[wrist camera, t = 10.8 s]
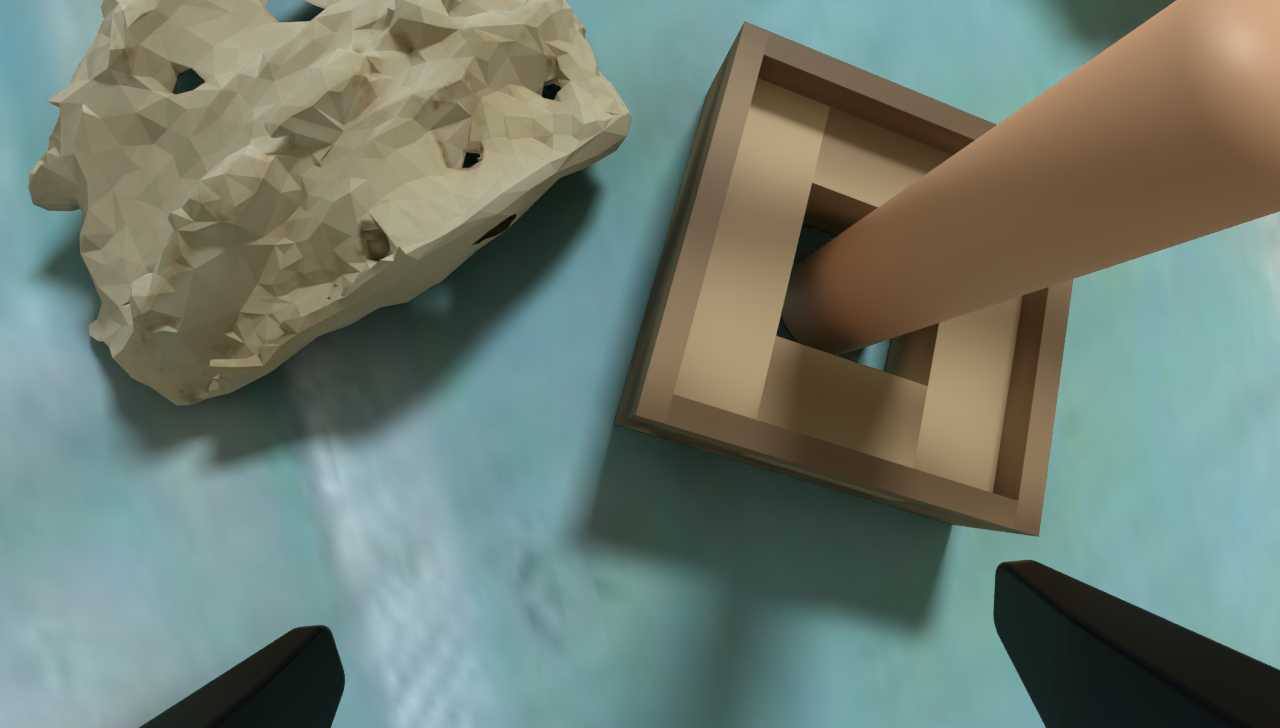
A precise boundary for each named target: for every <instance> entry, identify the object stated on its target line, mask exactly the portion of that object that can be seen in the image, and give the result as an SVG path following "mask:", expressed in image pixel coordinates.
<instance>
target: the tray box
mask: <svg viewBox="0 0 1280 728" xmlns="http://www.w3.org/2000/svg"><path fill="white" fill-rule="evenodd" d="M995 126H996V124H994V123H991V122H989V121H986V120H984V119H981V118H979V117H976V116H974V115H972V114H969V113H967V112H964V111H962V110H959V109H957V108H955V107H952V106H950V105H947V104H945V103H942V102H940V101H938V100H935V99H933V98H930V97H928V96H925V95H923V94H921V93H918V92H916V91H913V90H911V89H908V88H906V87H904V86H901V85H899V84H896V83H894V82H891V81H889V80H887V79H884V78H882V77H879V76H877V75H874V74H872V73H869V72H867V71H865V70H862V69H860V68H857V67H855V66H852V65H850V64H848V63H845V62H843V61H840V60H838V59H835V58H833V57H831V56H828V55H826V54H823V53H821V52H818V51H816V50H814V49H811V48H809V47H806V46H804V45H801V44H799V43H797V42H794V41H792V40H789V39H787V38H784V37H782V36H780V35H777V34H775V33H772V32H770V31H767V30H765V29H762V28H760V27H758V26H755V25H753V24H750V23H748V22H744V24H743V26H742V28H741V29H740V31H739V33H738V35H737V37H736V39H735V41H734V43H733V45H732V46H731V48H730V50H729V52H728V54H727V56H726V58H725V60H724V62H723V63H722V65H721V67H720V69H719V71H718V73H717V75H716V77H715V79H714V81H713V82H712V84H711V86H710V88H709V90H708V93H707V97H706V100H705V104H704V107H703V111H702V114H701V118H700V121H699V125H698V128H697V132H696V135H695V139H694V142H693V146H692V149H691V153H690V156H689V160H688V164H687V167H686V171H685V174H684V178H683V181H682V185H681V188H680V192H679V195H678V199H677V202H676V206H675V209H674V213H673V216H672V220H671V223H670V227H669V230H668V234H667V237H666V241H665V245H664V248H663V252H662V255H661V259H660V262H659V266H658V269H657V273H656V276H655V280H654V283H653V287H652V290H651V294H650V297H649V301H648V304H647V308H646V311H645V315H644V318H643V322H642V325H641V329H640V333H639V336H638V340H637V343H636V347H635V350H634V354H633V357H632V361H631V364H630V368H629V371H628V375H627V378H626V382H625V385H624V389H623V392H622V396H621V399H620V403H619V406H618V410H617V414H616V417H615V421H614V424H617V425H620V426H623V427H627V428H630V429H633V430H637V431H640V432H643V433H647V434H650V435H654V436H657V437H660V438H664V439H667V440H670V441H674V442H677V443H680V444H684V445H687V446H690V447H694V448H697V449H700V450H704V451H707V452H711V453H714V454H717V455H721V456H724V457H727V458H731V459H734V460H737V461H741V462H744V463H747V464H751V465H754V466H758V467H761V468H764V469H768V470H771V471H774V472H778V473H781V474H784V475H788V476H791V477H794V478H798V479H801V480H805V481H808V482H811V483H815V484H818V485H821V486H825V487H828V488H831V489H835V490H838V491H841V492H845V493H848V494H852V495H855V496H858V497H862V498H865V499H868V500H872V501H875V502H878V503H882V504H885V505H888V506H892V507H895V508H899V509H902V510H905V511H909V512H912V513H915V514H919V515H922V516H925V517H929V518H932V519H935V520H939V521H942V522H946V523H949V524H952V525H958V526H965V527H973V528H980V529H987V530H994V531H1002V532H1009V533H1016V534H1024V535H1031V536H1038V537H1039V530H1040V523H1041V515H1042V508H1043V500H1044V493H1045V485H1046V478H1047V470H1048V463H1049V456H1050V448H1051V441H1052V433H1053V426H1054V418H1055V411H1056V403H1057V396H1058V388H1059V381H1060V373H1061V366H1062V359H1063V351H1064V344H1065V336H1066V329H1067V321H1068V314H1069V306H1070V299H1071V291H1072V284H1073V279H1071V280H1068V281H1065V282H1062V283H1059V284H1056V285H1053V286H1050V287H1047V288H1044V289H1041V290H1038V291H1035V292H1032V293H1029V294H1026V295H1023V296H1019V297H1016V298H1013V299H1010V300H1007V301H1004V302H1001V303H998V304H995V305H992V306H989V307H986V308H983V309H980V310H977V311H974V312H971V313H968V314H965V315H962V316H959V317H955V318H952V319H949V320H946V321H943V322H940V323H937V324H934V325H931V326H928V327H925V328H922V329H919V330H916V331H913V332H910V333H907V334H904V335H901V336H898V337H894V338H891V343H890V348H889V353H888V358H887V363H886V369H885V372H883V371H880V370H877V369H874V368H871V367H868V366H865V365H862V364H859V363H856V362H853V361H850V360H847V359H844V358H841V357H838V356H835V355H832V354H829V353H826V352H823V351H820V350H817V349H814V348H811V347H808V346H805V345H802V344H799V343H796V342H793V341H790V340H787V339H784V338H781V337H778V336H776V334H777V329H778V325H779V321H780V317H781V312H782V308H783V304H784V300H785V295H786V291H787V287H788V283H789V278H790V274H791V270H792V266H793V261H794V257H795V253H796V249H797V244H798V240H799V236H800V232H801V228H802V223H804V224H806V225H809V226H812V227H815V228H817V229H820V230H823V231H826V232H828V233H831V234H834V235H836V236H838V235H839V234H841V233H842V232H844V231H845V230H847V229H848V228H850V227H851V226H852V225H854V224H855V223H857V222H858V221H860V220H861V219H862V218H864V217H865V216H867V215H868V214H870V213H871V212H873V211H874V210H875V209H877V208H878V207H880V206H881V205H883V204H884V203H885V202H887V201H888V200H890V199H891V198H893V197H894V196H896V195H897V194H898V193H900V192H901V191H903V190H904V189H906V188H907V187H908V186H910V185H911V184H913V183H914V182H916V181H917V180H919V179H920V178H921V177H923V176H924V175H926V174H927V173H929V172H930V171H932V170H933V169H934V168H936V167H937V166H939V165H940V164H942V163H943V162H944V161H946V160H947V159H949V158H950V157H952V156H953V155H955V154H956V153H957V152H959V151H960V150H962V149H963V148H965V147H966V146H967V145H969V144H970V143H972V142H973V141H975V140H976V139H978V138H979V137H980V136H982V135H983V134H985V133H986V132H988V131H989V130H991V129H992V128H993V127H995Z"/></svg>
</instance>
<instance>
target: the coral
mask: <svg viewBox="0 0 1280 728" xmlns="http://www.w3.org/2000/svg"><path fill="white" fill-rule="evenodd" d="M305 1H307V2H309V3H311V4H313V5H315V6H318V7H321V8H324V9H325V10H323V11H322V12H321V13H320V14H318V15H317V16H316V17H315V18H313V19H312V20H311V21H302V22H278V21H277V20H276V19H275V18H274V17H273V16H272V15H271V14H270V13H269V12H268V11H267V10H266V9H265V8H266V5H267V2H268V0H104V1H103V3H102V6H101V9H102V13H103V17H104V20H103V22H102V25H101V27H100V29H99V31H98V34H97V36H96V38H95V40H94V42H93V44H92V45H91V47H90V49H89V50H88V51H87V52H86V54H85V55H84V57H83V59H82V60H81V62H80V64H79V65H78V67H77V69H76V71H75V73H74V75H73V77H72V81H71V84H70V85H69V86H67V87H66V88H64V89H63V90H62V91H60V92H59V93H57V94H56V95H55V96H53V97H52V98H50V99H49V100H48V102H50V103H52V104H54V105H56V106H58V107H60V116H59V119H58V121H57V124H56V126H55V128H54V131H53V132H52V134H51V135H50V137H49V148H48V151H47V152H46V153H45V154H44V155H43V156H42V158H41V159H40V160H39V161H38V163H37V164H36V165H35V167H34V168H33V169H32V171H31V172H30V176H29V187H28V188H29V191H30V195H31V198H32V202H33V204H34V205H36V206H39V207H41V208H43V209H46V210H48V211H74V210H77V209H80V208H81V210H82V213H83V215H84V217H85V220H84V223H83V226H82V229H81V232H80V235H79V236H80V254H81V256H82V258H83V260H84V262H85V264H86V266H87V269H88V271H89V273H90V275H91V277H92V280H93V282H94V285H95V288H96V290H97V293H98V295H99V297H100V299H101V302H102V305H101V308H100V311H99V315H98V318H97V320H95V321H94V322H92V323H91V324H89V335H91V336H92V337H93V338H95V339H96V340H97V341H103V342H104V343H105V344H106V345H107V346H108V347H109V348H110V352H111V355H112V358H113V359H114V360H115V361H116V362H117V363H118V364H119V365H120V366H121V367H122V368H123V369H124V370H125V371H126V372H127V373H128V374H129V376H130V377H131V378H132V379H135V380H137V381H139V382H141V383H143V384H145V385H147V386H149V387H151V388H152V389H154V390H155V391H157V392H158V393H160V394H161V395H162V396H164V397H165V398H167V399H168V400H169V401H171V402H172V403H174V404H175V405H176V406H180V405H193V404H195V403H198V402H200V401H203V400H205V399H208V398H212V397H216V396H220V395H224V394H228V393H231V392H233V391H235V390H237V389H239V388H241V387H243V386H245V385H247V384H249V383H251V382H253V381H255V380H257V379H259V378H261V377H262V376H264V375H266V374H268V373H270V372H272V371H273V370H274V369H276V368H277V367H278V366H280V365H281V364H282V363H284V362H285V361H286V360H288V359H289V358H290V357H292V356H293V355H294V354H296V353H297V352H298V351H300V350H301V349H302V348H304V347H305V346H306V345H308V344H309V343H310V342H312V341H313V340H314V339H316V338H317V337H318V336H321V335H324V334H327V333H329V332H332V331H335V330H338V329H341V328H343V327H346V326H349V325H351V324H353V323H354V322H356V321H358V320H359V319H361V318H363V317H364V316H366V315H368V314H369V313H371V312H373V311H374V310H376V309H378V308H380V307H385V306H391V305H396V304H401V303H406V302H409V301H411V300H412V299H414V298H415V297H417V296H418V295H420V294H421V293H423V292H424V291H426V290H427V289H429V288H430V287H432V286H434V285H436V284H438V283H440V282H442V281H443V280H444V279H445V278H446V277H447V276H448V275H450V274H451V273H452V272H453V271H454V270H455V269H456V268H457V267H459V266H460V265H461V264H462V263H463V262H464V261H465V260H467V259H468V258H469V257H470V256H471V255H472V254H473V253H475V252H476V251H477V250H478V249H480V248H481V247H483V246H484V245H485V244H487V243H488V242H490V241H491V240H493V239H494V238H496V237H497V236H498V235H500V234H501V233H503V232H504V231H506V230H507V229H508V228H509V227H510V226H511V225H512V224H513V223H514V222H515V221H516V220H518V219H519V218H520V217H521V216H522V215H523V214H524V213H525V212H526V211H527V210H528V209H529V208H530V207H531V206H532V205H533V204H534V203H535V202H536V201H537V200H538V199H539V198H540V197H541V196H542V195H543V194H544V193H545V192H546V191H547V190H548V189H549V188H550V187H551V186H552V185H553V184H554V183H555V182H556V181H557V180H558V179H559V178H561V177H564V176H566V175H569V174H572V173H574V172H576V171H580V170H584V169H585V168H587V167H589V166H590V165H592V164H593V163H595V162H597V161H599V160H600V159H602V158H604V157H606V156H607V155H609V154H611V153H613V152H614V151H616V150H617V149H618V147H619V146H620V145H621V143H622V142H623V141H624V139H625V138H626V136H627V134H628V130H629V127H630V123H631V120H632V116H631V114H630V113H629V111H628V109H627V107H626V106H625V104H624V102H623V101H622V99H621V97H620V96H619V94H618V93H617V91H616V90H615V88H614V87H613V85H612V84H611V82H609V81H607V80H606V79H605V78H604V76H603V75H602V74H601V73H600V71H599V70H598V67H597V64H596V60H595V57H594V54H593V51H592V49H591V46H590V44H589V43H588V42H587V41H586V40H585V33H586V29H585V27H584V26H583V25H582V23H581V22H580V20H579V19H578V18H577V17H576V16H575V15H574V14H573V13H572V8H571V7H570V6H569V5H568V4H567V3H566V2H565V0H305ZM191 68H192V69H193V70H194V71H195V72H196V73H197V74H198V75H199V76H200V77H201V78H202V79H203V80H204V81H205V83H203V84H202V85H200V86H199V87H197V88H196V89H194V90H192V91H188V92H184V93H180V94H175V89H176V84H177V79H178V77H179V76H180V75H181V74H182V73H183V72H184V71H186V70H189V69H191ZM551 84H556V85H558V86H560V87H561V90H560V91H559V92H558V93H557V95H556V97H555V99H554V100H550V99H546V98H543V97H542V91H543V86H547V85H551ZM468 152H469V153H478V154H480V158H477V159H478V161H479V162H478V163H477V164H475V165H473V166H472V167H470V168H462V167H463V163H464V158H465V156H466V154H467V153H468Z"/></svg>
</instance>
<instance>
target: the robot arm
mask: <svg viewBox="0 0 1280 728" xmlns="http://www.w3.org/2000/svg"><path fill="white" fill-rule="evenodd" d="M994 623H995V627H996V630H997V633H998V635H999V637H1000V639H1001V641H1002V643H1003V645H1004V647H1005V649H1006V651H1007V653H1008V655H1009V657H1010V659H1011V661H1012V663H1013V665H1014V667H1015V669H1016V670H1017V672H1018V674H1019V676H1020V678H1021V680H1022V682H1023V684H1024V686H1025V688H1026V690H1027V692H1028V694H1029V696H1030V698H1031V700H1032V702H1033V704H1034V706H1035V707H1036V709H1037V711H1038V713H1039V715H1040V717H1041V719H1042V721H1043V723H1044V725H1045V727H1046V728H1280V670H1279V669H1276V668H1274V667H1272V666H1270V665H1267V664H1265V663H1263V662H1261V661H1259V660H1256V659H1254V658H1252V657H1250V656H1247V655H1245V654H1243V653H1241V652H1238V651H1236V650H1234V649H1232V648H1229V647H1227V646H1225V645H1223V644H1220V643H1218V642H1216V641H1214V640H1211V639H1209V638H1207V637H1205V636H1202V635H1200V634H1198V633H1196V632H1193V631H1191V630H1189V629H1187V628H1184V627H1182V626H1180V625H1178V624H1175V623H1173V622H1171V621H1169V620H1166V619H1164V618H1162V617H1160V616H1157V615H1155V614H1153V613H1151V612H1149V611H1146V610H1144V609H1142V608H1140V607H1137V606H1135V605H1133V604H1131V603H1128V602H1126V601H1124V600H1122V599H1119V598H1117V597H1115V596H1113V595H1110V594H1108V593H1106V592H1104V591H1101V590H1099V589H1097V588H1095V587H1092V586H1090V585H1088V584H1086V583H1083V582H1081V581H1079V580H1077V579H1074V578H1072V577H1070V576H1068V575H1065V574H1063V573H1061V572H1059V571H1056V570H1054V569H1052V568H1050V567H1047V566H1045V565H1043V564H1041V563H1039V562H1036V561H1033V560H1021V561H1010V562H1003V563H1001V564H1000V565H998V567H997V569H996V574H995V593H994ZM344 685H345V674H344V669H343V666H342V663H341V660H340V656H339V653H338V650H337V647H336V644H335V641H334V637H333V634H332V632H331V630H330V629H329V628H328V627H327V626H324V625H315V626H304V627H297V628H294V629H292V630H291V631H289V632H288V633H286V634H284V635H283V636H281V637H280V638H278V639H277V640H275V641H274V642H272V643H270V644H269V645H267V646H266V647H264V648H263V649H261V650H259V651H258V652H256V653H255V654H253V655H252V656H250V657H249V658H247V659H245V660H244V661H242V662H241V663H239V664H238V665H236V666H234V667H233V668H231V669H230V670H228V671H227V672H225V673H224V674H222V675H220V676H219V677H217V678H216V679H214V680H213V681H211V682H209V683H208V684H206V685H205V686H203V687H202V688H200V689H199V690H197V691H195V692H194V693H192V694H191V695H189V696H188V697H186V698H184V699H183V700H181V701H180V702H178V703H177V704H175V705H174V706H172V707H170V708H169V709H167V710H166V711H164V712H163V713H161V714H159V715H158V716H156V717H155V718H153V719H152V720H150V721H149V722H147V723H145V724H144V725H142V726H141V727H139V728H331V726H332V723H333V720H334V717H335V714H336V711H337V709H338V706H339V703H340V700H341V697H342V694H343V691H344Z"/></svg>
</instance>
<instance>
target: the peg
mask: <svg viewBox="0 0 1280 728" xmlns="http://www.w3.org/2000/svg"><path fill="white" fill-rule="evenodd" d="M1279 211H1280V0H1176V1H1175V2H1173V3H1172V4H1170V5H1169V6H1167V7H1166V8H1165V9H1163V10H1162V11H1160V12H1159V13H1157V14H1156V15H1155V16H1153V17H1152V18H1150V19H1149V20H1147V21H1146V22H1144V23H1143V24H1142V25H1140V26H1139V27H1137V28H1136V29H1134V30H1133V31H1132V32H1130V33H1129V34H1127V35H1126V36H1124V37H1123V38H1121V39H1120V40H1119V41H1117V42H1116V43H1114V44H1113V45H1111V46H1110V47H1108V48H1107V49H1106V50H1104V51H1103V52H1101V53H1100V54H1098V55H1097V56H1096V57H1094V58H1093V59H1091V60H1090V61H1088V62H1087V63H1085V64H1084V65H1083V66H1081V67H1080V68H1078V69H1077V70H1075V71H1074V72H1073V73H1071V74H1070V75H1068V76H1067V77H1065V78H1064V79H1062V80H1061V81H1060V82H1058V83H1057V84H1055V85H1054V86H1052V87H1051V88H1050V89H1048V90H1047V91H1045V92H1044V93H1042V94H1041V95H1039V96H1038V97H1037V98H1035V99H1034V100H1032V101H1031V102H1029V103H1028V104H1026V105H1025V106H1024V107H1022V108H1021V109H1019V110H1018V111H1016V112H1015V113H1014V114H1012V115H1011V116H1009V117H1008V118H1006V119H1005V120H1003V121H1002V122H1001V123H999V124H998V125H996V126H995V127H993V128H992V129H991V130H989V131H988V132H986V133H985V134H983V135H982V136H980V137H979V138H978V139H976V140H975V141H973V142H972V143H970V144H969V145H967V146H966V147H965V148H963V149H962V150H960V151H959V152H957V153H956V154H955V155H953V156H952V157H950V158H949V159H947V160H946V161H944V162H943V163H942V164H940V165H939V166H937V167H936V168H934V169H933V170H932V171H930V172H929V173H927V174H926V175H924V176H923V177H921V178H920V179H919V180H917V181H916V182H914V183H913V184H911V185H910V186H908V187H907V188H906V189H904V190H903V191H901V192H900V193H898V194H897V195H896V196H894V197H893V198H891V199H890V200H888V201H887V202H885V203H884V204H883V205H881V206H880V207H878V208H877V209H875V210H874V211H873V212H871V213H870V214H868V215H867V216H865V217H864V218H862V219H861V220H860V221H858V222H857V223H855V224H854V225H852V226H851V227H850V228H848V229H847V230H845V231H844V232H842V233H841V234H839V235H838V236H837V237H835V238H834V239H832V240H831V241H829V242H828V243H826V244H825V245H824V246H822V247H821V248H819V249H818V250H816V251H815V252H814V253H812V254H811V255H809V256H808V257H806V258H805V259H803V260H802V261H801V262H799V263H798V264H796V265H795V266H794V267H793V268H792V270H791V274H790V278H789V283H788V287H787V291H786V295H785V300H784V304H783V308H782V312H781V314H782V318H783V321H784V323H785V325H786V327H787V329H788V331H789V332H790V333H791V335H792V336H793V337H794V338H795V339H796V341H797V342H799V343H800V344H802V345H805V346H808V347H811V348H814V349H817V350H820V351H823V352H826V353H829V354H832V355H835V356H836V355H842V354H846V353H849V352H852V351H855V350H858V349H861V348H864V347H867V346H870V345H873V344H876V343H879V342H882V341H885V340H888V339H891V338H894V337H898V336H901V335H904V334H907V333H910V332H913V331H916V330H919V329H922V328H925V327H928V326H931V325H934V324H937V323H940V322H943V321H946V320H949V319H952V318H955V317H959V316H962V315H965V314H968V313H971V312H974V311H977V310H980V309H983V308H986V307H989V306H992V305H995V304H998V303H1001V302H1004V301H1007V300H1010V299H1013V298H1016V297H1019V296H1023V295H1026V294H1029V293H1032V292H1035V291H1038V290H1041V289H1044V288H1047V287H1050V286H1053V285H1056V284H1059V283H1062V282H1065V281H1068V280H1071V279H1074V278H1077V277H1080V276H1084V275H1087V274H1090V273H1093V272H1096V271H1099V270H1102V269H1105V268H1108V267H1111V266H1114V265H1117V264H1120V263H1123V262H1126V261H1129V260H1132V259H1135V258H1138V257H1141V256H1144V255H1148V254H1151V253H1154V252H1157V251H1160V250H1163V249H1166V248H1169V247H1172V246H1175V245H1178V244H1181V243H1184V242H1187V241H1190V240H1193V239H1196V238H1199V237H1202V236H1205V235H1209V234H1212V233H1215V232H1218V231H1221V230H1224V229H1227V228H1230V227H1233V226H1236V225H1239V224H1242V223H1245V222H1248V221H1251V220H1254V219H1257V218H1260V217H1263V216H1266V215H1270V214H1273V213H1276V212H1279Z"/></svg>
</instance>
